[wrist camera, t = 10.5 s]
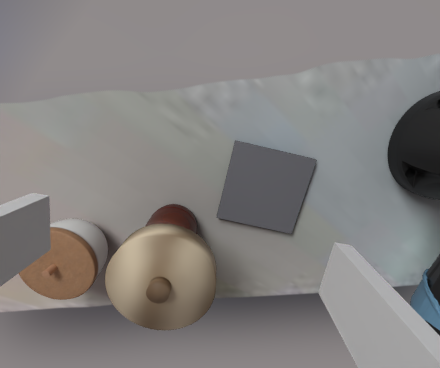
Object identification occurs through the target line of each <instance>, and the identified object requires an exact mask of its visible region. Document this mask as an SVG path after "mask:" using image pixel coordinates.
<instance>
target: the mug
mask: <svg viewBox="0 0 440 368" xmlns="http://www.w3.org/2000/svg"><path fill="white" fill-rule="evenodd" d="M162 223H163V224H174V225H178V226H182V227H184V228H187V229H189V230H191V231H193V232H194V233H196V234H197V222H196V219H195V217H194V215H193V213H192V212H191V211H190V210H189V209H187V208H186V207H184V206H181V205H177V204H170V205H166V206H164V207H162V208H160V209H158V210H157V211H156V212H155V213H154V214H153V215H152V216H151V218H150V219H149V221H148V222H147V224H146V226H149V225H153V224H162ZM146 226H145V227H146Z"/></svg>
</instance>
